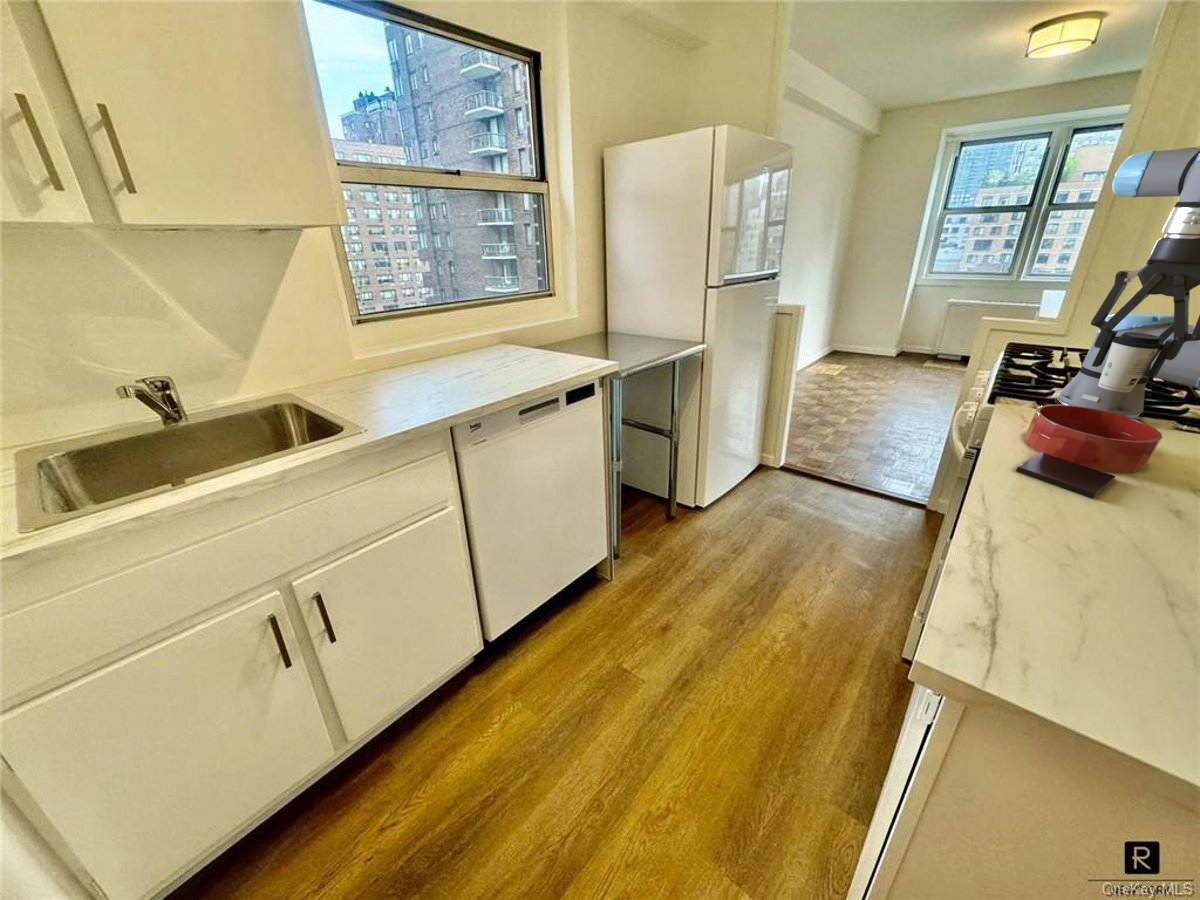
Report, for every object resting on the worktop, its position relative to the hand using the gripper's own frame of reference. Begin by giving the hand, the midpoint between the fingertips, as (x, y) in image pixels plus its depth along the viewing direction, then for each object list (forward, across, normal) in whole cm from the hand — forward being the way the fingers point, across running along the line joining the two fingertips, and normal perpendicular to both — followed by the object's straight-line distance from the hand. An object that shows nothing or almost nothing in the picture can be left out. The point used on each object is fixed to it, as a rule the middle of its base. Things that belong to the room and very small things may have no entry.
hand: (1123, 370), depth 90 cm
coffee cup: (+4, 0, 0) cm, 4 cm away
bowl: (+17, 0, 0) cm, 17 cm away
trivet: (+17, +2, -16) cm, 23 cm away
